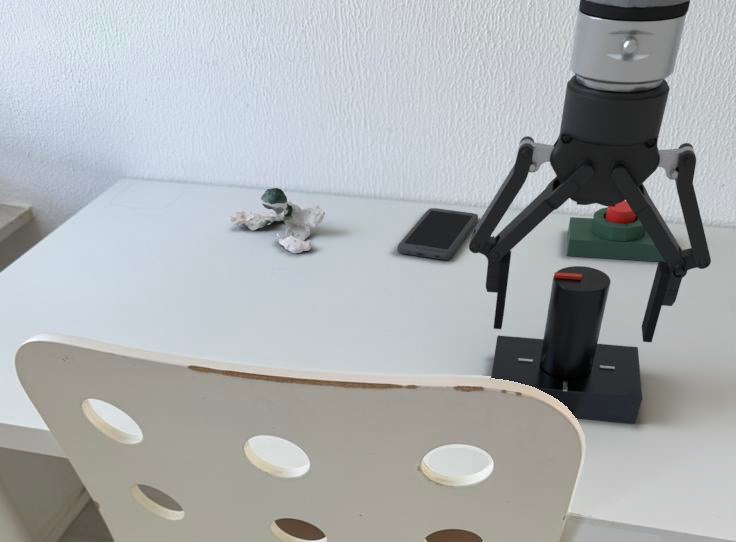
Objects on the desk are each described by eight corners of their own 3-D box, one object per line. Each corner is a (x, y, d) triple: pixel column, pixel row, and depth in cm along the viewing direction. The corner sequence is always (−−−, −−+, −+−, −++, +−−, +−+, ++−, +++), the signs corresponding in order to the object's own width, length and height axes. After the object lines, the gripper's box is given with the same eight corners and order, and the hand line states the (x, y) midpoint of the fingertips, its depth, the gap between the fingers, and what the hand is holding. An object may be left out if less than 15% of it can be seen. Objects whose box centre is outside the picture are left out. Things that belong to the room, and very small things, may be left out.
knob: (592, 352, 76) (610, 264, 70) (592, 380, 73) (612, 290, 66) (541, 348, 77) (554, 261, 71) (538, 375, 74) (553, 286, 67)
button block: (660, 238, 101) (668, 208, 99) (664, 262, 96) (672, 231, 94) (567, 233, 104) (572, 203, 101) (566, 255, 99) (571, 225, 96)
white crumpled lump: (345, 222, 105) (319, 186, 98) (318, 274, 105) (291, 242, 98) (264, 200, 112) (235, 166, 105) (239, 249, 112) (208, 218, 105)
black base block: (631, 371, 79) (638, 344, 77) (635, 424, 73) (643, 397, 71) (494, 359, 82) (497, 333, 79) (486, 409, 75) (489, 382, 73)
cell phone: (395, 252, 101) (395, 247, 100) (429, 212, 110) (429, 206, 109) (449, 261, 98) (449, 255, 98) (479, 218, 107) (479, 213, 107)
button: (634, 214, 98) (637, 201, 97) (635, 226, 96) (638, 212, 95) (605, 213, 99) (607, 199, 98) (605, 224, 97) (608, 211, 95)
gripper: (447, 86, 57) (434, 336, 72) (808, 97, 53) (716, 362, 67) (459, 59, 63) (444, 298, 77) (788, 68, 58) (706, 319, 73)
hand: (571, 328), depth 72 cm, fingers open, 13 cm apart
